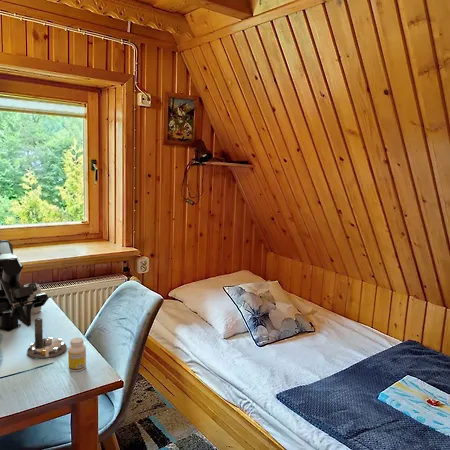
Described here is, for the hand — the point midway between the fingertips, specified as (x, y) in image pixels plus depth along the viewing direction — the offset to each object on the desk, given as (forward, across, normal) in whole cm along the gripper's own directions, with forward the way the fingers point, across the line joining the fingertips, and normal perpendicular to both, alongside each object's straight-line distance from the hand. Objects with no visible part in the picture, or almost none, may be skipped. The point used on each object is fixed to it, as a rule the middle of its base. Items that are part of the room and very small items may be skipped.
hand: (29, 325), depth 150 cm
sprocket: (+9, +3, +1) cm, 10 cm away
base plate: (+10, +3, +2) cm, 11 cm away
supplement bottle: (+23, +3, -11) cm, 26 cm away
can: (-16, +18, +29) cm, 38 cm away
